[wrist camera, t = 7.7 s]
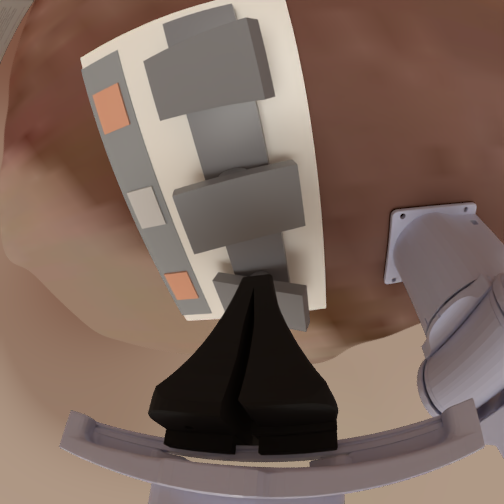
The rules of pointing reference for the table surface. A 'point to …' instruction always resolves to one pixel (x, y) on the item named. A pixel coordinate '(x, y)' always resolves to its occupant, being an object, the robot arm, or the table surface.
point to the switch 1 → (211, 70)
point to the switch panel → (277, 130)
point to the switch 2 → (241, 205)
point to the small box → (11, 20)
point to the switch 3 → (288, 295)
